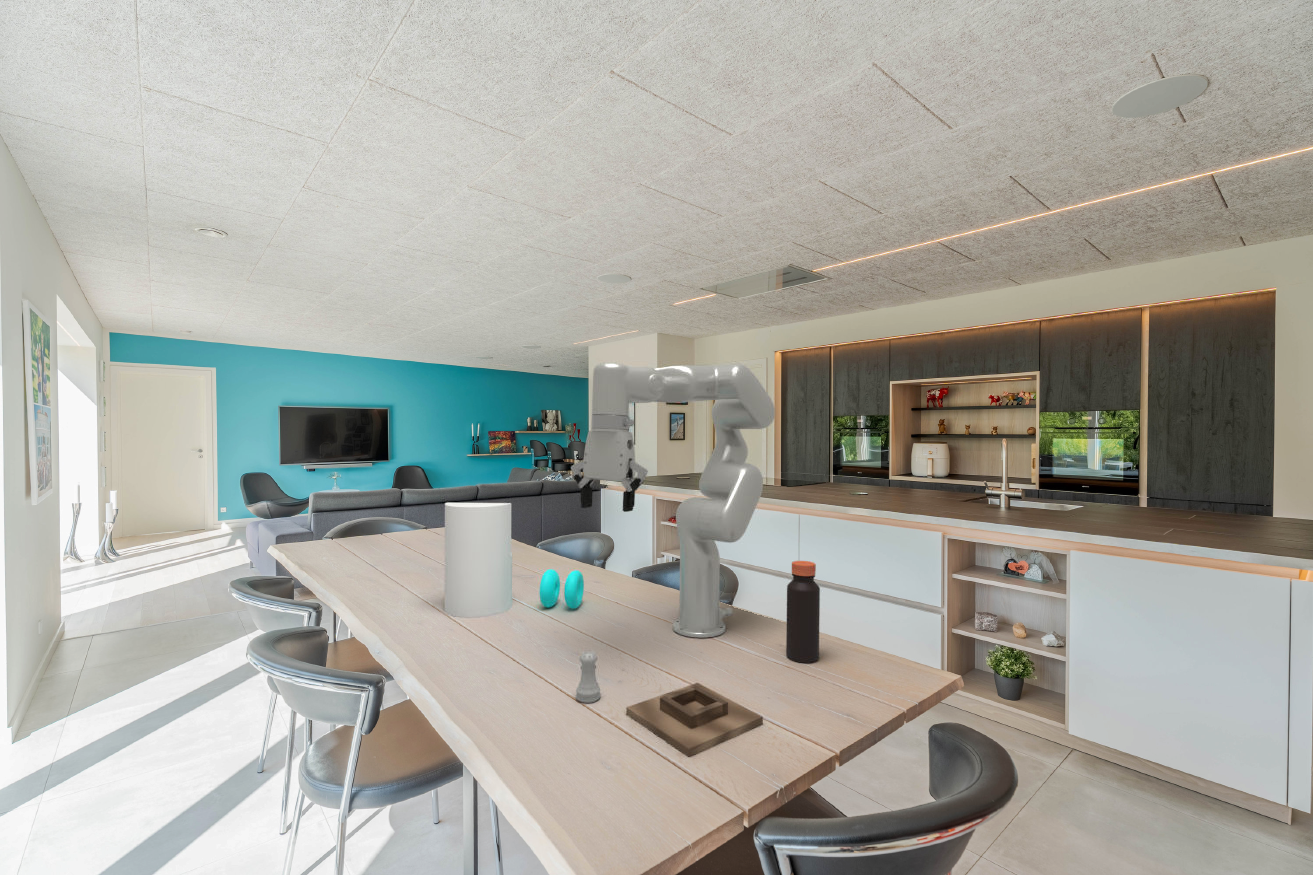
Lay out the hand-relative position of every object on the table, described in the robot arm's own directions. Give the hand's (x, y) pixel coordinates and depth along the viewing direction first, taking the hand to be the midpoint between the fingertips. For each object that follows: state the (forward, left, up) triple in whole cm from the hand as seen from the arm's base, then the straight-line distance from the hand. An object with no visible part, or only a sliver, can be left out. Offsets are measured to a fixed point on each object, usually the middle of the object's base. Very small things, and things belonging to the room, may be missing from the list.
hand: (606, 509), depth 118 cm
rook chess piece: (+10, +10, -32) cm, 35 cm away
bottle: (-36, +21, -32) cm, 52 cm away
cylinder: (+6, -53, -32) cm, 62 cm away
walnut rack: (0, +27, -32) cm, 42 cm away
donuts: (-12, -40, -32) cm, 52 cm away
